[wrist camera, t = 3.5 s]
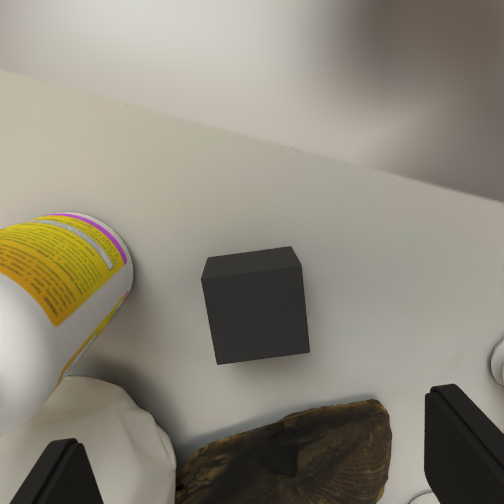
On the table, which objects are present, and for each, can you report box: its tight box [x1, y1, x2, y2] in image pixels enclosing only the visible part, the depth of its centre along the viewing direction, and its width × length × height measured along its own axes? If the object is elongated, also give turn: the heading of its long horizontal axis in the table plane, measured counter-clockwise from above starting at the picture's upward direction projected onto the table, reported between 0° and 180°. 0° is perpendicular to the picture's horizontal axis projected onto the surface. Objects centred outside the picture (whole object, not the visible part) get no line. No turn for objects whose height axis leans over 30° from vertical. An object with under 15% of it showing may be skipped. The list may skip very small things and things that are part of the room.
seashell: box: [175, 399, 392, 504], centre depth 21 cm, size 16×9×7 cm, turn 110°
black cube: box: [201, 246, 310, 365], centre depth 19 cm, size 5×5×4 cm
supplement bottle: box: [0, 212, 133, 438], centre depth 14 cm, size 7×7×13 cm
